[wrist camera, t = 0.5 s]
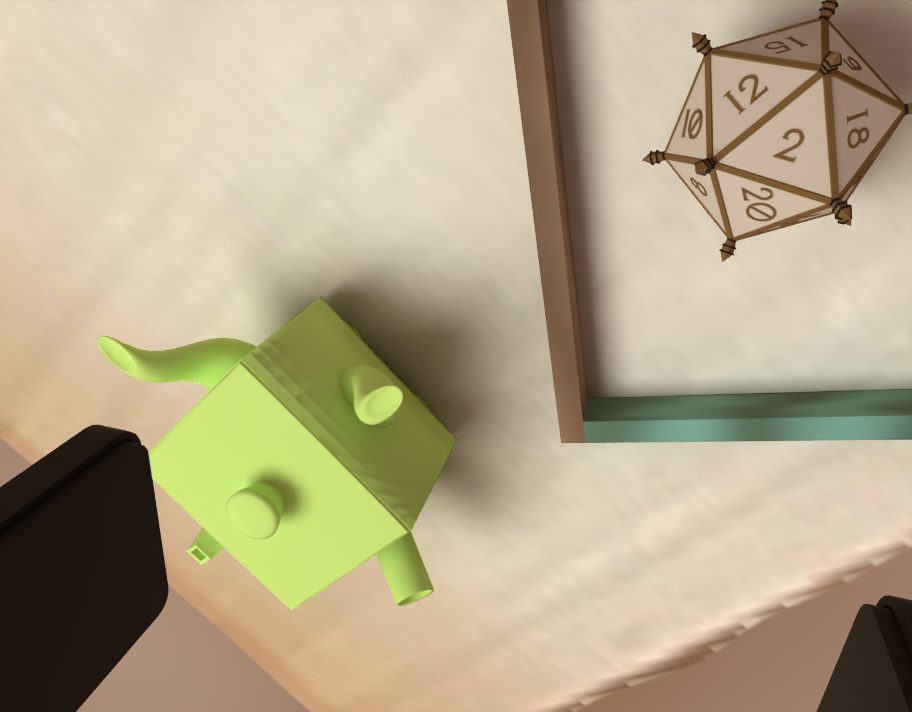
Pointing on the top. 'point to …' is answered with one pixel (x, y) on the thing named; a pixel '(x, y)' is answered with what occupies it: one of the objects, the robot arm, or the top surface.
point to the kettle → (298, 455)
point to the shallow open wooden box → (576, 413)
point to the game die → (780, 128)
